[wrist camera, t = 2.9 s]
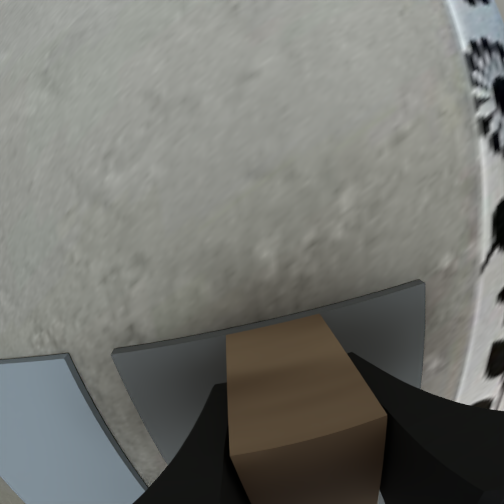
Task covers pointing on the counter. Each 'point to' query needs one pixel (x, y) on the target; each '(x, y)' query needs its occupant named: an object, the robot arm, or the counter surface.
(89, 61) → the counter surface
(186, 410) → the charcoal mat
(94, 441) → the slate mat
